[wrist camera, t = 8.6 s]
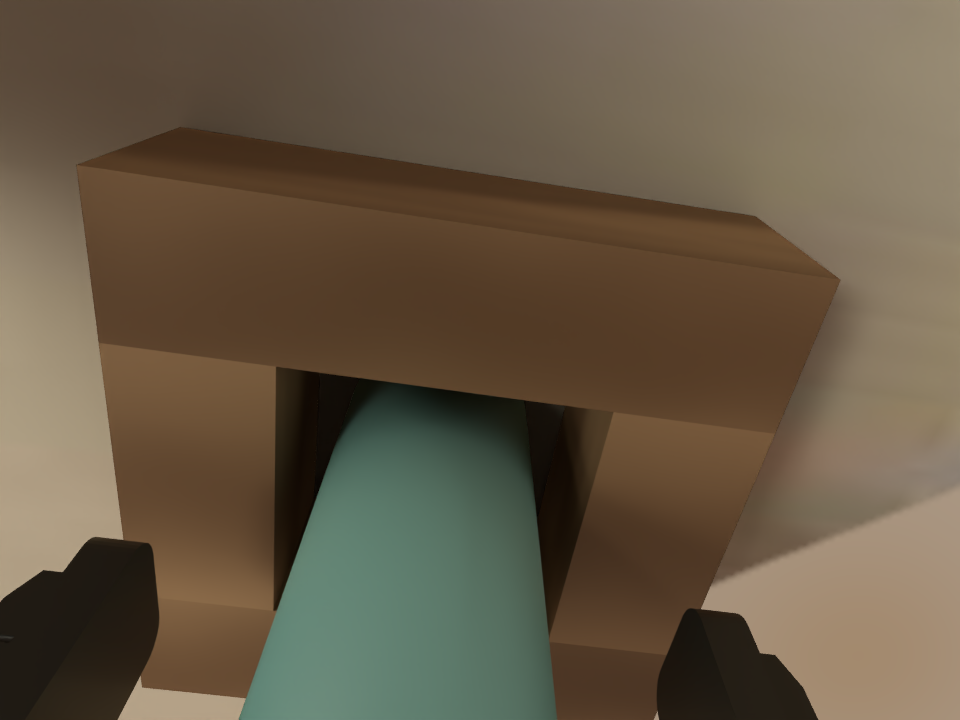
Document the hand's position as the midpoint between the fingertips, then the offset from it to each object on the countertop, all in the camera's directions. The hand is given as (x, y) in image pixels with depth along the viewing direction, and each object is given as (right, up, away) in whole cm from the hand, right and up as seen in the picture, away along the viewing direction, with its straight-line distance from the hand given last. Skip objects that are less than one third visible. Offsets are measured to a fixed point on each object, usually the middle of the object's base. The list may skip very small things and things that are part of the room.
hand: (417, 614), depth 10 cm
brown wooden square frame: (0, +3, +5) cm, 6 cm away
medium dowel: (0, +3, +5) cm, 6 cm away
